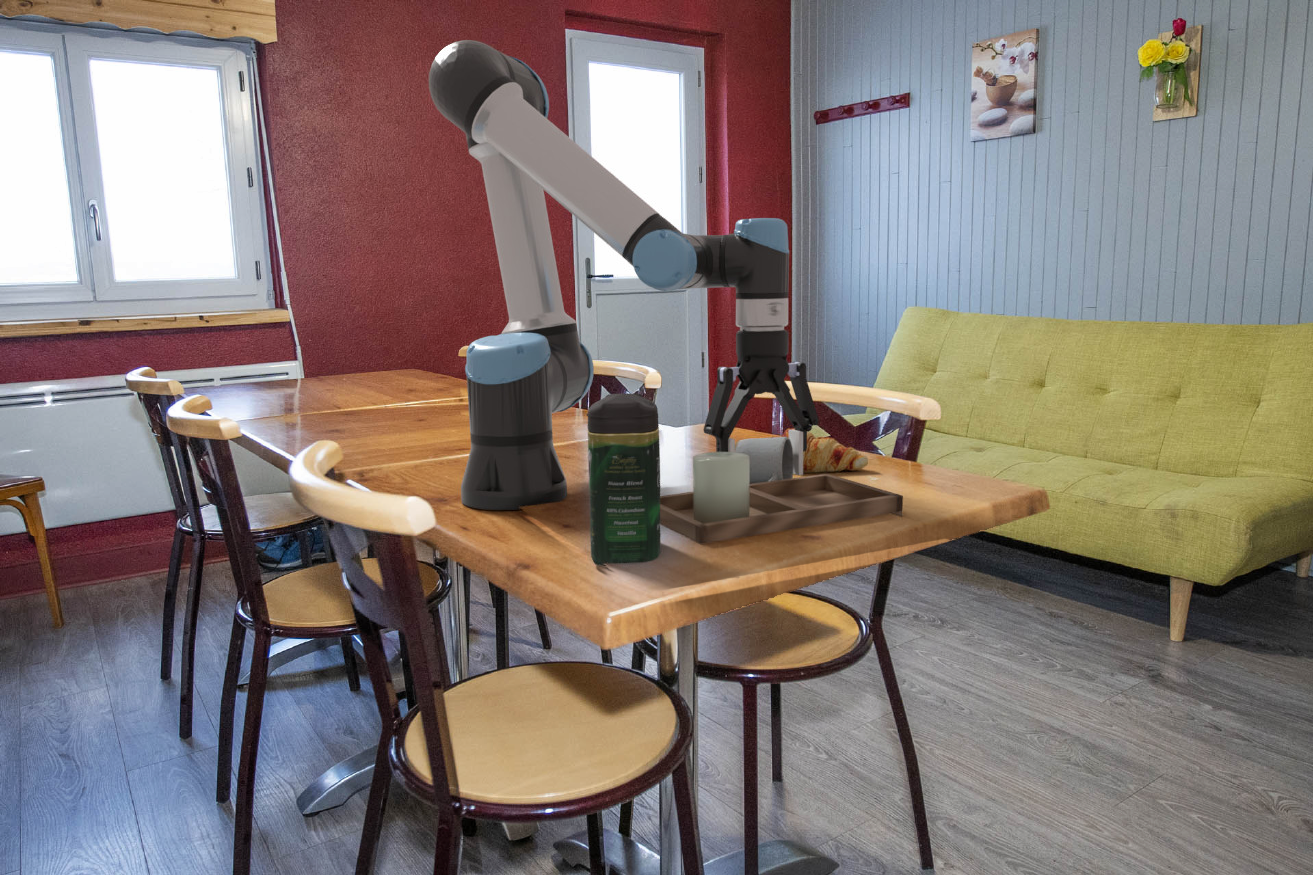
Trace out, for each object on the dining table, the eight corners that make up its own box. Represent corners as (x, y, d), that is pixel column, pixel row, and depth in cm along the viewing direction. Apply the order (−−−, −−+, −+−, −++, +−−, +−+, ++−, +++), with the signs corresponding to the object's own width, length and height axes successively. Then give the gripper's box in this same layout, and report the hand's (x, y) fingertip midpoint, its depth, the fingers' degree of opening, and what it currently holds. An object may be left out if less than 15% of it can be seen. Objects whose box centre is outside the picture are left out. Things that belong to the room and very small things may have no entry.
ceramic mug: (742, 480, 144) (741, 431, 142) (794, 483, 141) (794, 433, 139) (722, 497, 134) (721, 444, 132) (779, 500, 131) (778, 446, 130)
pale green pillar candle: (710, 529, 112) (710, 464, 111) (683, 517, 118) (682, 455, 117) (760, 522, 115) (760, 458, 114) (731, 510, 121) (731, 449, 120)
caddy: (699, 552, 107) (699, 526, 106) (640, 521, 121) (639, 498, 120) (902, 518, 119) (902, 495, 119) (827, 494, 134) (827, 473, 133)
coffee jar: (662, 571, 100) (658, 399, 97) (588, 572, 100) (582, 401, 97) (661, 545, 110) (658, 388, 106) (594, 547, 110) (589, 390, 107)
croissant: (869, 489, 152) (874, 442, 154) (863, 471, 142) (868, 422, 145) (742, 479, 159) (749, 435, 161) (729, 462, 150) (735, 415, 152)
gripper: (703, 333, 126) (705, 492, 129) (844, 326, 136) (842, 473, 140) (677, 331, 132) (680, 482, 136) (814, 324, 143) (813, 465, 146)
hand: (762, 477), depth 138 cm, fingers closed on ceramic mug, 11 cm apart
